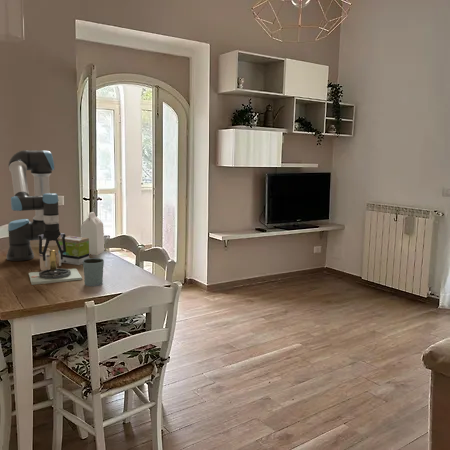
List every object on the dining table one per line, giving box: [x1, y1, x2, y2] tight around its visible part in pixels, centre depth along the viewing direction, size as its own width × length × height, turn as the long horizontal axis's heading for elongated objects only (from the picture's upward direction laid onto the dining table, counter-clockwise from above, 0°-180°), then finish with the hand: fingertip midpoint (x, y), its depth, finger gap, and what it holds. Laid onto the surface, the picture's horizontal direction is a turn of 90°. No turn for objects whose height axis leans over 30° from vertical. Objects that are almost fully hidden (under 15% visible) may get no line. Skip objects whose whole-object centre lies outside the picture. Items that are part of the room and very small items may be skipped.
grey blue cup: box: [82, 257, 105, 287], centre depth 232 cm, size 10×10×12 cm
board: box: [28, 268, 83, 285], centre depth 244 cm, size 20×24×1 cm
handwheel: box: [38, 249, 71, 278], centre depth 243 cm, size 16×15×11 cm
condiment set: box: [38, 247, 58, 271], centre depth 260 cm, size 12×9×12 cm
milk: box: [80, 211, 106, 256], centre depth 301 cm, size 12×12×26 cm
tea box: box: [57, 235, 90, 266], centre depth 275 cm, size 15×10×15 cm, turn 68°
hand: (53, 265), depth 249 cm, fingers open, 6 cm apart
